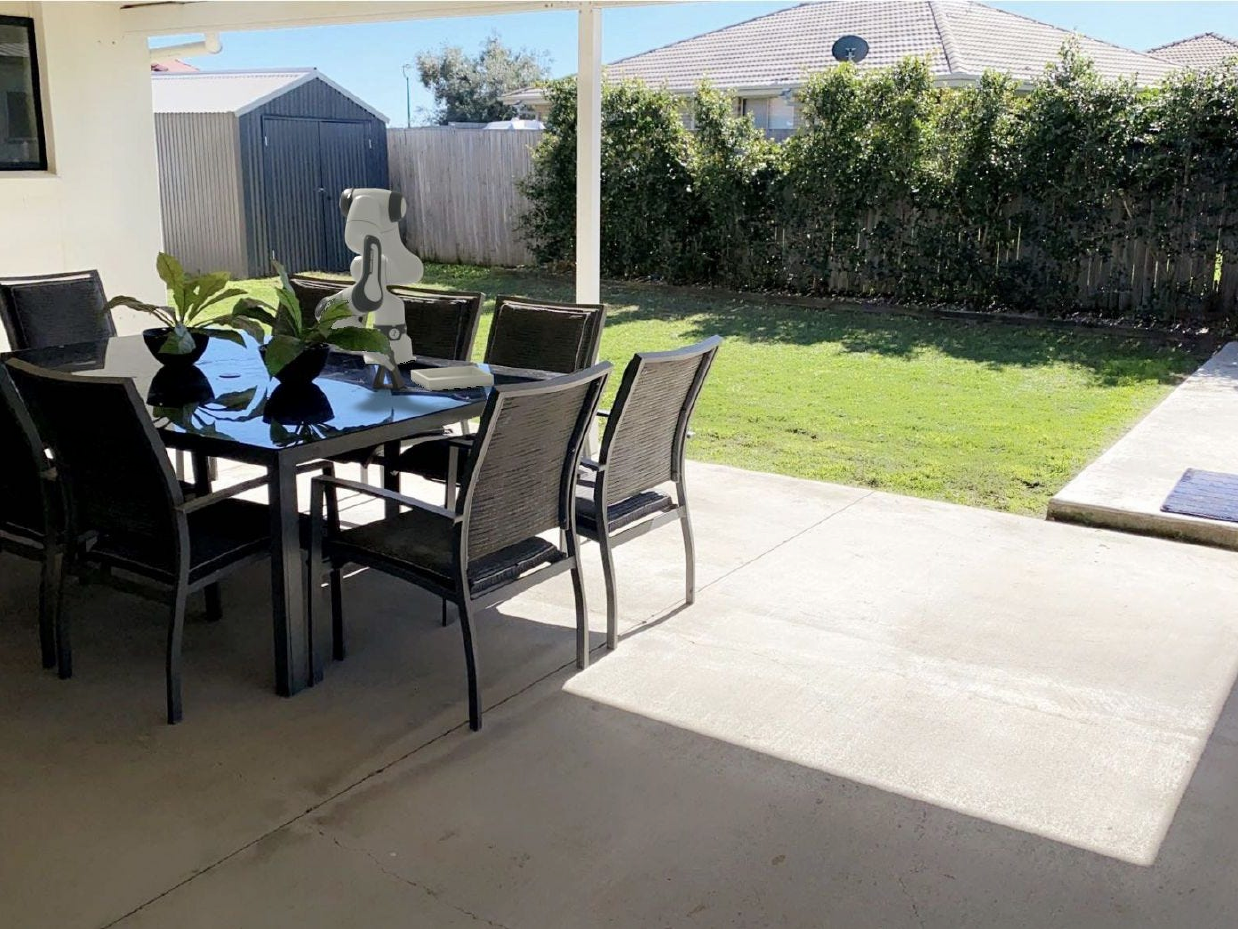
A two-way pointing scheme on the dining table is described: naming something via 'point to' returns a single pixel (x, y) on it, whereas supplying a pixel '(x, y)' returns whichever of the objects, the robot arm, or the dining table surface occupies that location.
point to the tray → (452, 378)
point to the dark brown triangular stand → (394, 375)
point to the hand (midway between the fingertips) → (389, 367)
